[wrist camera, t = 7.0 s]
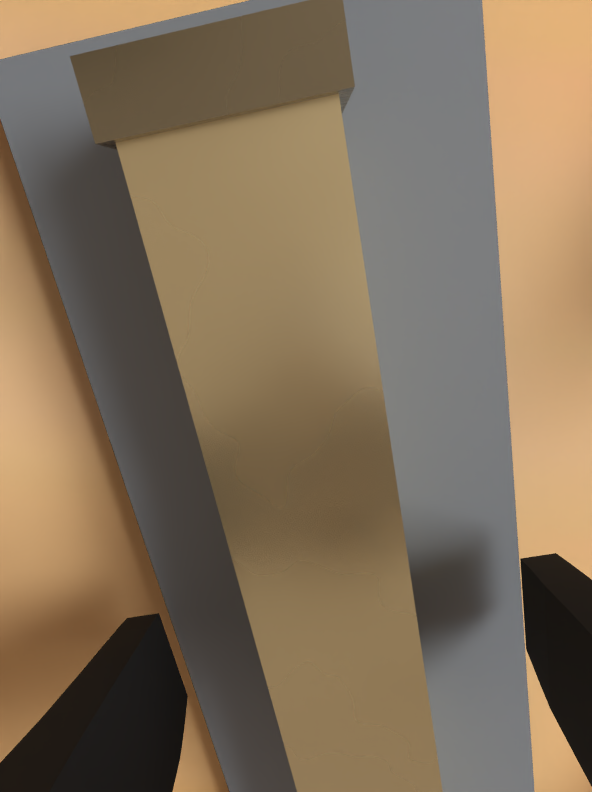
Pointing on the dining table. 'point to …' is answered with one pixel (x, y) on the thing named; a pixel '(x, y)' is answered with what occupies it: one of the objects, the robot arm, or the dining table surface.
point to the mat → (398, 360)
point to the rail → (280, 367)
